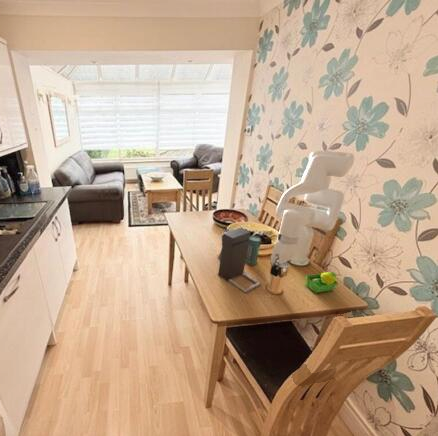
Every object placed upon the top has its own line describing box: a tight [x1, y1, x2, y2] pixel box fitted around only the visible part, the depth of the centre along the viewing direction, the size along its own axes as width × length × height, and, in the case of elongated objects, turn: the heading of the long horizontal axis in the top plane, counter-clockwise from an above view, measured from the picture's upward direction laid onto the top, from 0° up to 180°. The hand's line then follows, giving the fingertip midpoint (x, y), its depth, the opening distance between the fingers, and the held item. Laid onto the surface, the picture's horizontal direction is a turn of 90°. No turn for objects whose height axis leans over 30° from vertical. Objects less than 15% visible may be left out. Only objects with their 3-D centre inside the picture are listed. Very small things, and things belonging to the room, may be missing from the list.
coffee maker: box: [217, 227, 261, 293], centre depth 115 cm, size 12×17×24 cm
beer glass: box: [266, 260, 290, 295], centre depth 110 cm, size 7×7×15 cm
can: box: [245, 235, 262, 266], centre depth 131 cm, size 6×6×15 cm
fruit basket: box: [305, 271, 339, 294], centre depth 111 cm, size 11×9×11 cm
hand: (278, 271), depth 108 cm, fingers closed on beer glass, 7 cm apart
